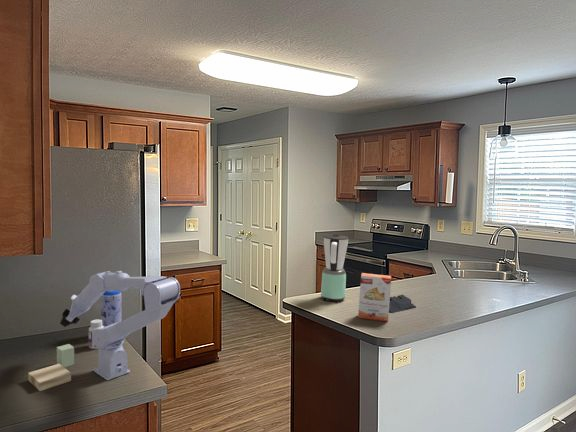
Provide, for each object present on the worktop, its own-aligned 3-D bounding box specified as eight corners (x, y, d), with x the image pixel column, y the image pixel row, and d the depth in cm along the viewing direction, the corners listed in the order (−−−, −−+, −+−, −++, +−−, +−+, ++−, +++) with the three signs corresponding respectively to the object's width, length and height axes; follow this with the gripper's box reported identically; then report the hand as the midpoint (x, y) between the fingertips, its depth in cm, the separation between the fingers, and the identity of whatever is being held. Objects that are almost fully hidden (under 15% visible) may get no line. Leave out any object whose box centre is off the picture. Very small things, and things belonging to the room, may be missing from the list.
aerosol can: (97, 334, 171) (97, 285, 169) (117, 329, 177) (117, 282, 175) (105, 340, 166) (105, 289, 163) (125, 335, 171) (125, 286, 169)
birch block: (71, 381, 134) (71, 372, 134) (39, 392, 127) (39, 382, 127) (59, 372, 140) (58, 363, 140) (28, 381, 133) (28, 372, 133)
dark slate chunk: (368, 306, 224) (368, 297, 223) (396, 300, 237) (396, 291, 236) (391, 314, 212) (391, 305, 211) (419, 308, 225) (419, 299, 224)
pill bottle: (106, 343, 163) (106, 318, 162) (101, 349, 157) (101, 323, 156) (92, 343, 162) (92, 318, 161) (86, 349, 157) (85, 323, 156)
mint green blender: (322, 293, 241) (325, 232, 238) (346, 296, 239) (349, 233, 235) (318, 303, 223) (321, 237, 219) (344, 306, 220) (347, 239, 217)
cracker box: (357, 318, 203) (360, 275, 201) (358, 314, 209) (361, 272, 206) (388, 322, 200) (391, 278, 197) (388, 318, 205) (391, 275, 203)
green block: (74, 364, 145) (74, 347, 144) (61, 368, 142) (61, 350, 141) (69, 360, 148) (69, 343, 147) (56, 364, 144) (56, 347, 144)
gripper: (89, 275, 148) (70, 296, 154) (66, 303, 136) (46, 324, 141) (106, 288, 150) (87, 308, 156) (85, 316, 138) (65, 336, 143)
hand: (69, 316), depth 149 cm, fingers open, 7 cm apart
